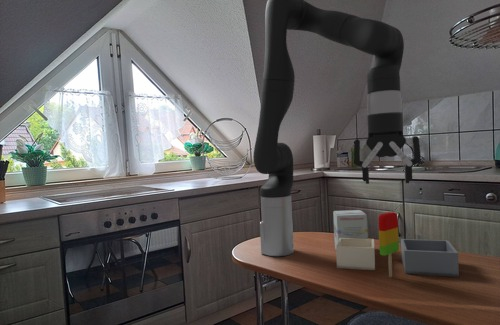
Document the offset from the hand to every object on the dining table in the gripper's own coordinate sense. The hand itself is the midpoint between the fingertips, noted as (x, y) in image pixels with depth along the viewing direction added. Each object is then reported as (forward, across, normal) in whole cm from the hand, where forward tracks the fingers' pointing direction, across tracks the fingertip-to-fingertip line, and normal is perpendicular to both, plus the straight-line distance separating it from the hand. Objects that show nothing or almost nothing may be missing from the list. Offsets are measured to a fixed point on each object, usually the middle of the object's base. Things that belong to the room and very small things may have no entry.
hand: (387, 183), depth 82 cm
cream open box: (+22, -8, +9) cm, 25 cm away
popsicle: (+22, 0, 0) cm, 22 cm away
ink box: (+22, -10, +20) cm, 31 cm away
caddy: (+22, +9, +9) cm, 25 cm away
